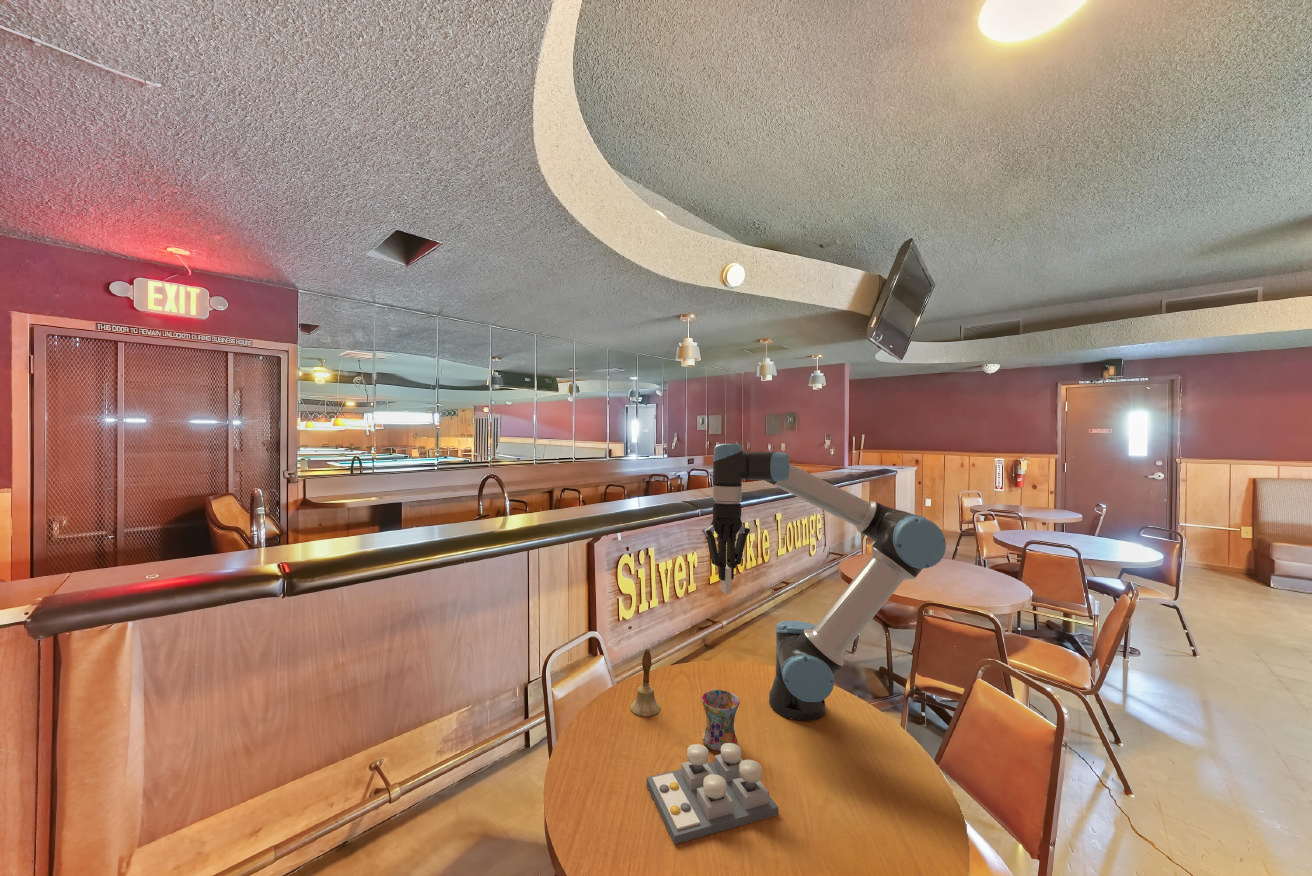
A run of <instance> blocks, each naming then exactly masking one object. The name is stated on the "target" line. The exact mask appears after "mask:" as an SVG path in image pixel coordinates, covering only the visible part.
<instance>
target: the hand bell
mask: <svg viewBox="0 0 1312 876" xmlns="http://www.w3.org/2000/svg"><path fill="white" fill-rule="evenodd" d="M650 650H651V649H649V648H646V649H645V650H644V652H643V655H642V659H641V661H642V662H641V665H642V671H643V678H642V685H640V686H639V687H638V688H637V693H636V697H635V700H634V701H633V702H632V703H631V705H630V707H629V708H630V711H631V713H632V714H634V715H636V716H638V717H645V718H646V717H647V718H648V717H652V716H655V715H657V714H659V712H660V711H661V706H660V703H659V702H657V700H656V697H655V690H654V687H653V686H651V685H650V670H651V668H652V655H651V651H650Z"/></svg>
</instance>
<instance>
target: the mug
mask: <svg viewBox="0 0 1312 876" xmlns="http://www.w3.org/2000/svg"><path fill="white" fill-rule="evenodd" d="M700 701H701V703H702V706H703V709H704V712H705V718H706V719H705V721H706V722H705V723H706V725H705V729H704V732H703V734H702V737H701V738H702V741H703V743H704V746H705V747H706V748H709V749H711V750H713V751H715V752H721V746H722V745H723V744H725V743H733V744H736V745H738V738H737V735H736V731H735V717H736V713H737V711H738V708H739V706H740V702H741V701H740V699H739V697H738V696H737V695H736V694H735V693H733V692H731V691H728V690H725V689H724V690H722V689H711V690H708V691H705V692H704V693H703V694H702V696H701V698H700Z"/></svg>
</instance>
